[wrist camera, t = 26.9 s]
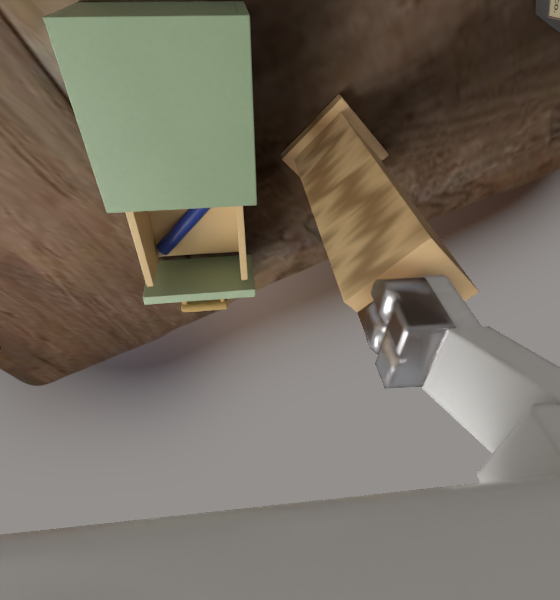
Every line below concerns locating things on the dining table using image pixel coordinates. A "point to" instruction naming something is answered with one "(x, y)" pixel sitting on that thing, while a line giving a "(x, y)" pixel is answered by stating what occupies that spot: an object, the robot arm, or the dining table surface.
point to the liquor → (549, 12)
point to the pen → (180, 230)
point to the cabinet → (162, 100)
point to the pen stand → (364, 210)
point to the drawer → (194, 259)
